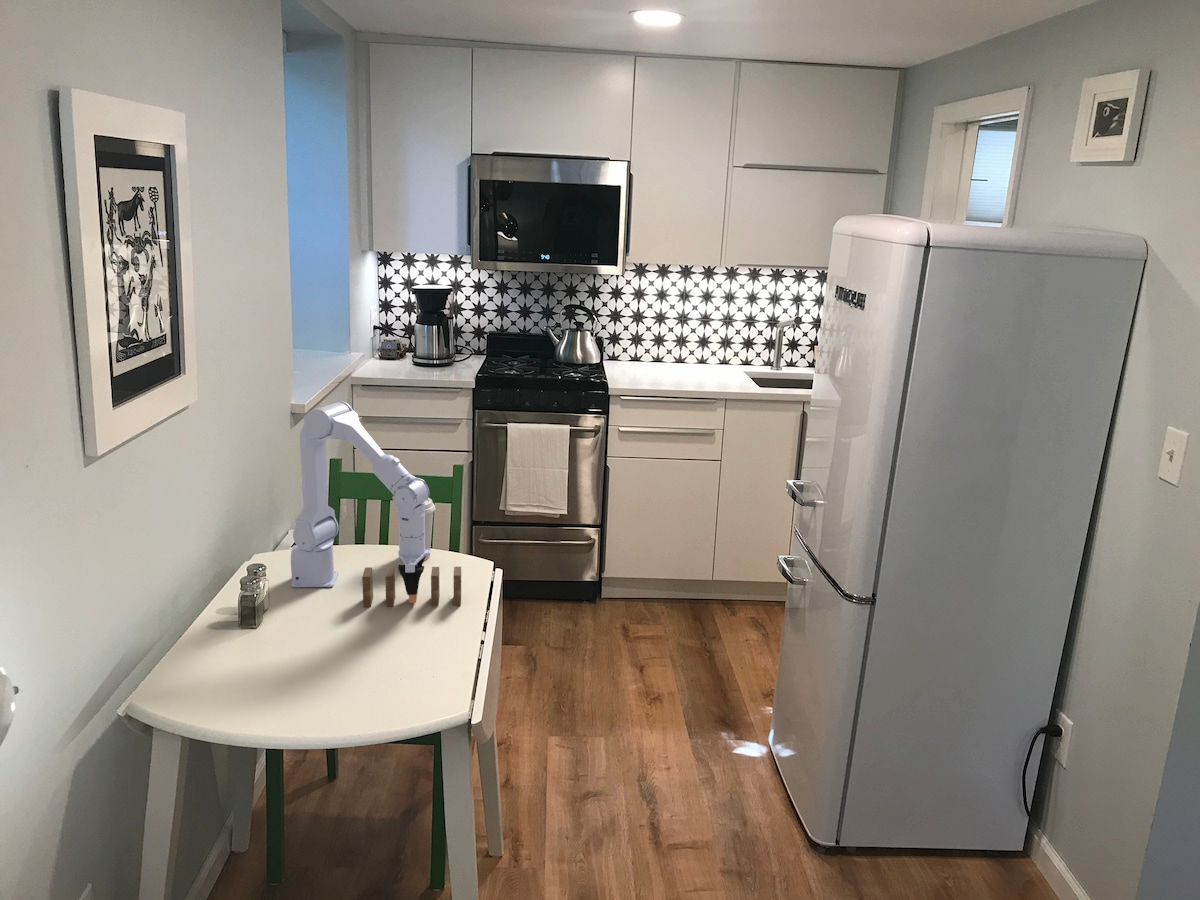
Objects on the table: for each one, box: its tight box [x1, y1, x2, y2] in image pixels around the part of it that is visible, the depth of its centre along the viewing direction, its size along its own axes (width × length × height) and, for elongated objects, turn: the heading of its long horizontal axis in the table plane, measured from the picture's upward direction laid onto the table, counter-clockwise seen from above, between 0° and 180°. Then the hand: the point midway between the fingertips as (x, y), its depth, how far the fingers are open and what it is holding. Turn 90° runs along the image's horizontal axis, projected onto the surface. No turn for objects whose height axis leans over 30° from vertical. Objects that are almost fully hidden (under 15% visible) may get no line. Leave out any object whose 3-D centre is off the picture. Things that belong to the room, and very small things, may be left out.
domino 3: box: [408, 564, 419, 604], centre depth 212 cm, size 2×5×8 cm, turn 7°
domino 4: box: [430, 566, 440, 607], centre depth 213 cm, size 2×5×8 cm, turn 7°
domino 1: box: [361, 566, 374, 608], centre depth 211 cm, size 2×5×8 cm, turn 7°
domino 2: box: [384, 566, 396, 608], centre depth 212 cm, size 2×5×8 cm, turn 7°
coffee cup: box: [396, 497, 436, 561], centre depth 236 cm, size 10×10×15 cm
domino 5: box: [452, 566, 462, 607], centre depth 214 cm, size 2×5×8 cm, turn 7°
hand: (412, 589), depth 213 cm, fingers closed on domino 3, 5 cm apart
